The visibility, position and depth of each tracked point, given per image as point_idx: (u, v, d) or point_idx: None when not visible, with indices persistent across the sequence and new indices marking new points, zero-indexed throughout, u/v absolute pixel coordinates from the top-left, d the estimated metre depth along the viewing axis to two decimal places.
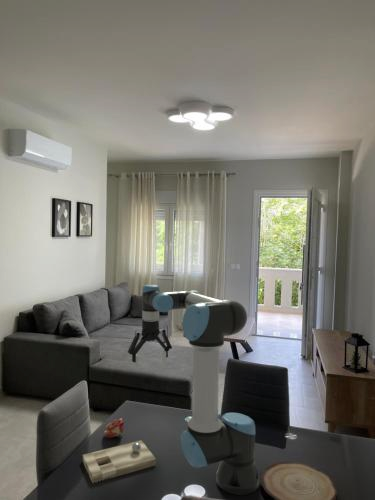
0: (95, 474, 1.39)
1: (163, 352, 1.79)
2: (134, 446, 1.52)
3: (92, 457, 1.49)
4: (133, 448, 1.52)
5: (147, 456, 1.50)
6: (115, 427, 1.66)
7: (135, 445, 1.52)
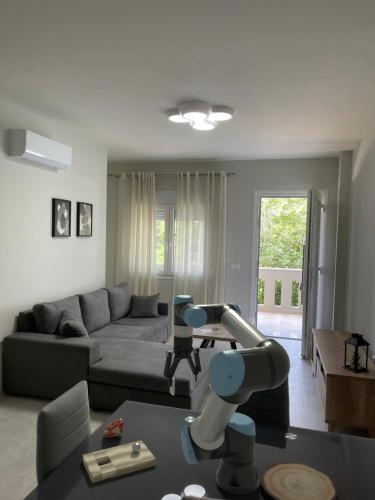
0: (95, 474, 1.39)
1: (191, 376, 1.57)
2: (134, 446, 1.52)
3: (92, 457, 1.49)
4: (133, 448, 1.52)
5: (147, 456, 1.50)
6: (115, 427, 1.66)
7: (135, 445, 1.52)
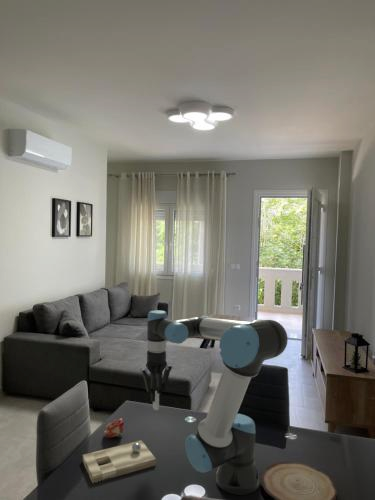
0: (95, 474, 1.39)
1: None
2: (134, 446, 1.52)
3: (92, 457, 1.49)
4: (133, 448, 1.52)
5: (147, 456, 1.50)
6: (115, 427, 1.66)
7: (135, 445, 1.52)
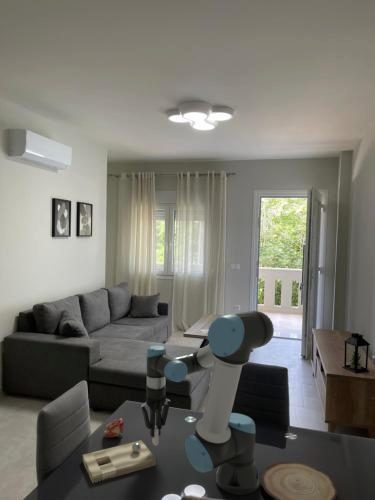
0: (95, 474, 1.39)
1: None
2: (134, 446, 1.52)
3: (92, 457, 1.49)
4: (133, 448, 1.52)
5: (147, 456, 1.50)
6: (115, 427, 1.66)
7: (135, 445, 1.52)
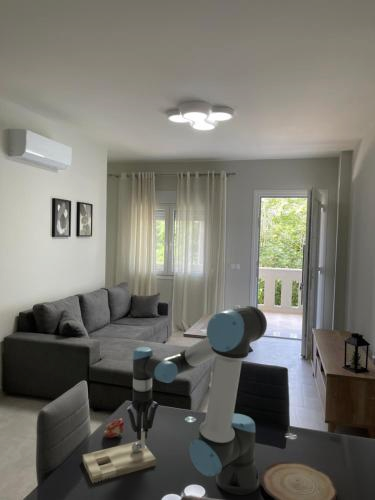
0: (95, 474, 1.39)
1: None
2: (134, 446, 1.52)
3: (92, 457, 1.49)
4: (133, 448, 1.52)
5: (147, 456, 1.50)
6: (115, 427, 1.66)
7: (134, 445, 1.52)
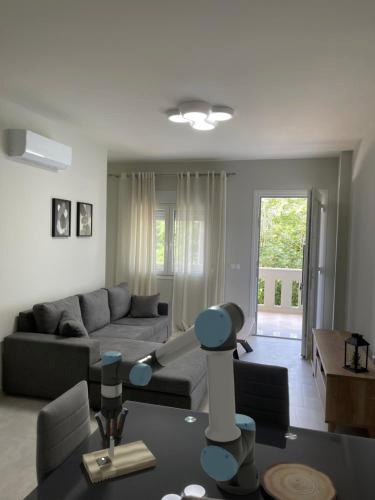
0: (95, 474, 1.39)
1: None
2: None
3: (92, 457, 1.49)
4: None
5: (147, 456, 1.50)
6: None
7: None
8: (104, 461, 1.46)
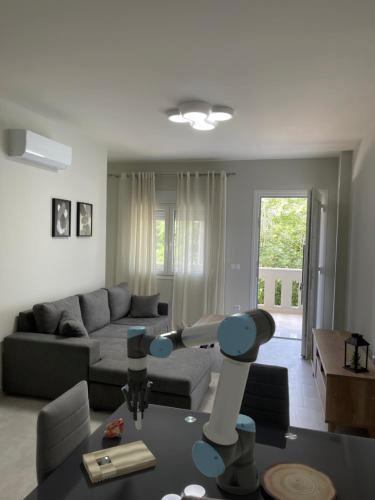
0: (95, 474, 1.39)
1: None
2: (101, 463, 1.46)
3: (92, 457, 1.49)
4: None
5: (147, 456, 1.50)
6: (115, 427, 1.66)
7: (101, 462, 1.46)
8: (109, 462, 1.47)
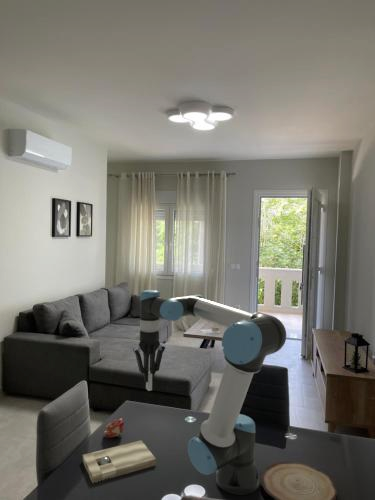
0: (95, 474, 1.39)
1: None
2: (101, 463, 1.46)
3: (92, 457, 1.49)
4: None
5: (147, 456, 1.50)
6: (115, 427, 1.66)
7: (101, 462, 1.46)
8: (108, 462, 1.47)
